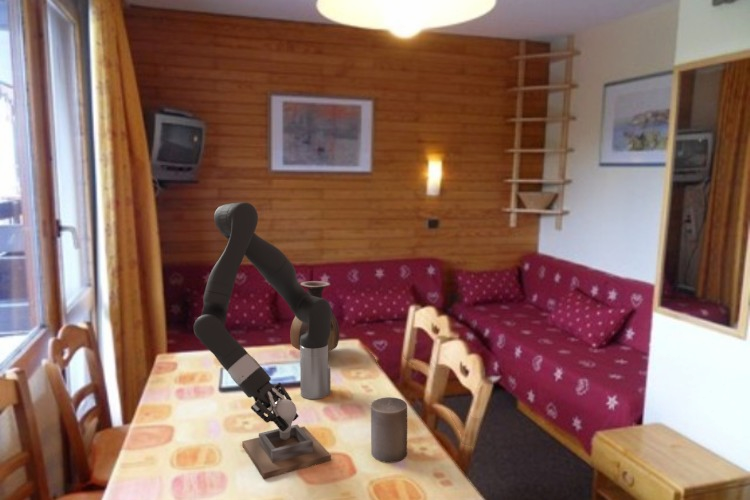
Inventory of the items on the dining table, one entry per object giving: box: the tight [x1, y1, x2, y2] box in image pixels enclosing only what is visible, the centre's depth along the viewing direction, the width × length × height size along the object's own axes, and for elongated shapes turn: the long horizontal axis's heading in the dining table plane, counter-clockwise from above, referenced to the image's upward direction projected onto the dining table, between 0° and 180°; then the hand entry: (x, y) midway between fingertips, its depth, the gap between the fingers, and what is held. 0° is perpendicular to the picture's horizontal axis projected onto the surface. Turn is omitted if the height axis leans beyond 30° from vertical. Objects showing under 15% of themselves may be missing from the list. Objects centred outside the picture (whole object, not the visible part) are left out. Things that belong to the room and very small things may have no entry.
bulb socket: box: [241, 424, 332, 480], centre depth 144 cm, size 18×18×4 cm
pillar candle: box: [370, 396, 408, 463], centre depth 144 cm, size 10×10×15 cm
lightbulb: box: [272, 398, 298, 440], centre depth 143 cm, size 6×6×11 cm
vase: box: [289, 280, 340, 352], centre depth 217 cm, size 23×19×30 cm
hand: (291, 423), depth 143 cm, fingers closed on lightbulb, 5 cm apart
